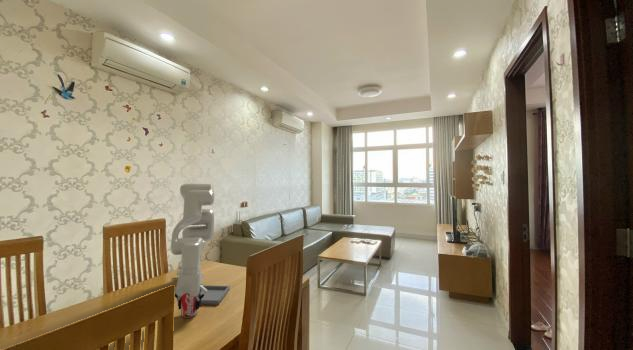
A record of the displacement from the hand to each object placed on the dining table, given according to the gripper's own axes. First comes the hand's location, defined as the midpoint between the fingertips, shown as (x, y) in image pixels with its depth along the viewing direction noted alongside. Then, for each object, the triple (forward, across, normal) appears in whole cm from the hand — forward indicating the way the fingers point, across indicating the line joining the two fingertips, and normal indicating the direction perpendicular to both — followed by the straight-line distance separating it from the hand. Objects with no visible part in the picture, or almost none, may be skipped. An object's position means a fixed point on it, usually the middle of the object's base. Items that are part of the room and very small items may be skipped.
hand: (189, 307), depth 115 cm
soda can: (+3, 0, 0) cm, 3 cm away
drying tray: (+3, +1, +17) cm, 17 cm away
